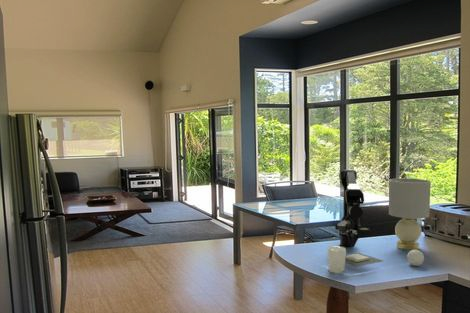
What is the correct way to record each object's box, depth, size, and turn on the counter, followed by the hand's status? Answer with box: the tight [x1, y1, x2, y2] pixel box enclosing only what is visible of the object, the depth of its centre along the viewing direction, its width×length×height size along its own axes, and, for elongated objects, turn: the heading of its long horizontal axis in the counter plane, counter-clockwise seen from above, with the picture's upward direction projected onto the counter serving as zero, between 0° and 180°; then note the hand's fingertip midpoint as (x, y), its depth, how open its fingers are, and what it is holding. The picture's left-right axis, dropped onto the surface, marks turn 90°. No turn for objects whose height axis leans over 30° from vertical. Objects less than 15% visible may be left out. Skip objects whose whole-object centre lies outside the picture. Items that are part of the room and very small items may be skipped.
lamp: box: [388, 177, 432, 251], centre depth 251 cm, size 20×20×35 cm
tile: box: [346, 253, 370, 262], centre depth 227 cm, size 1×8×8 cm
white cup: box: [327, 245, 347, 274], centre depth 210 cm, size 8×8×10 cm
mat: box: [345, 252, 384, 267], centre depth 227 cm, size 16×18×1 cm
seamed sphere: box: [406, 249, 425, 267], centre depth 219 cm, size 10×7×7 cm
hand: (352, 247), depth 229 cm, fingers closed
